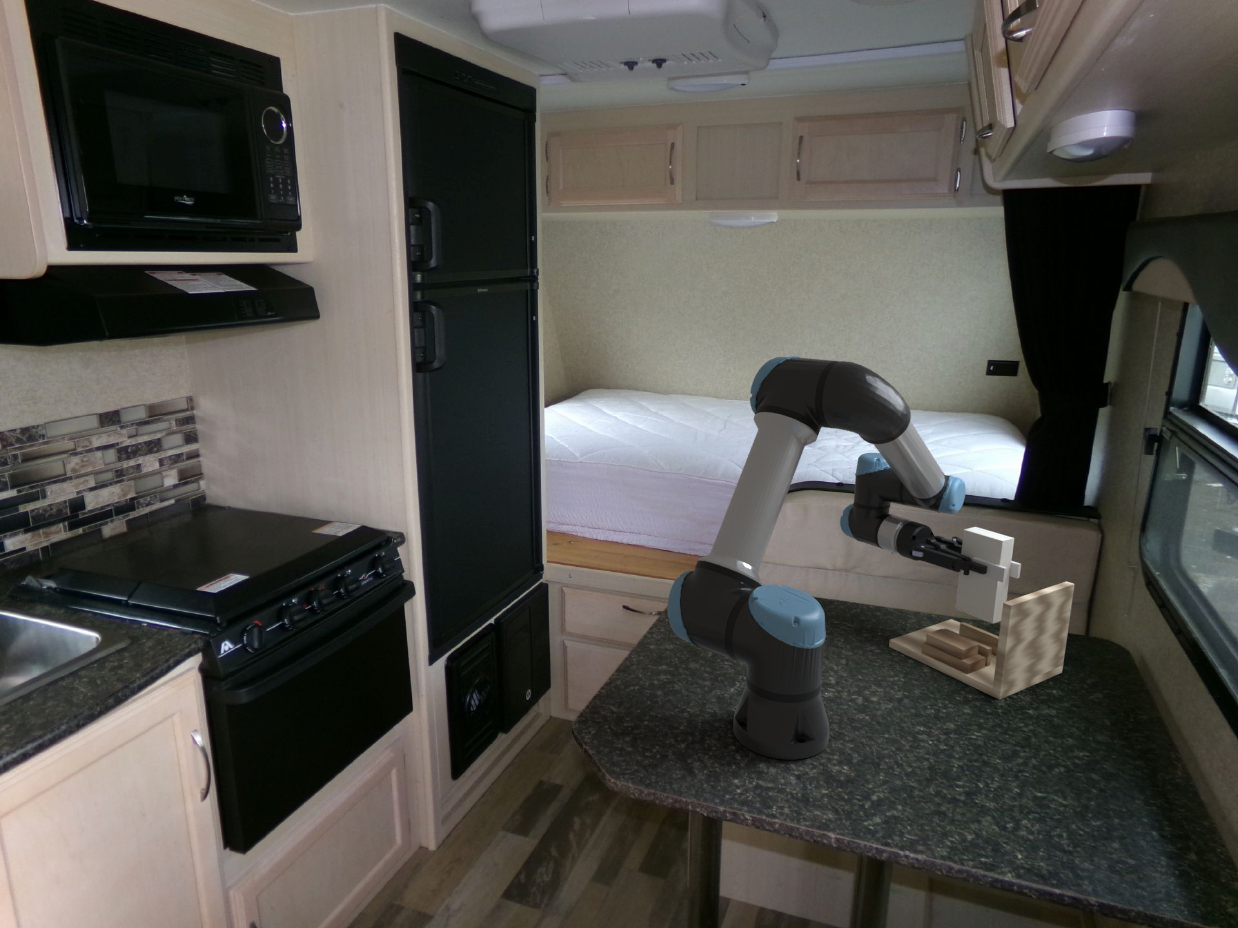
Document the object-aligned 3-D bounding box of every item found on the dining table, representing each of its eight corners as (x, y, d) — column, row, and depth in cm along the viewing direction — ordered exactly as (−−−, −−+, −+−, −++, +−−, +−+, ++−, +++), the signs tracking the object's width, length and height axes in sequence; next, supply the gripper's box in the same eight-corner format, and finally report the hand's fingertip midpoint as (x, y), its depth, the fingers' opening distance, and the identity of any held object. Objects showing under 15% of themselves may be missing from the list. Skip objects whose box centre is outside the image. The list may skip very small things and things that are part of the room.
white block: (992, 623, 152) (1002, 541, 149) (955, 608, 159) (963, 529, 155) (1004, 619, 154) (1014, 538, 150) (966, 605, 160) (975, 526, 157)
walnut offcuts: (967, 674, 149) (969, 653, 148) (921, 652, 157) (923, 633, 156) (984, 667, 151) (987, 647, 151) (938, 646, 160) (940, 627, 159)
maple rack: (999, 699, 143) (1011, 605, 139) (889, 646, 163) (896, 563, 159) (1061, 672, 153) (1074, 583, 149) (950, 625, 173) (959, 546, 169)
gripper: (931, 549, 174) (1036, 584, 155) (877, 562, 165) (981, 601, 146) (934, 515, 172) (1041, 546, 153) (880, 526, 164) (986, 561, 144)
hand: (1011, 573), depth 150 cm, fingers closed on white block, 3 cm apart
